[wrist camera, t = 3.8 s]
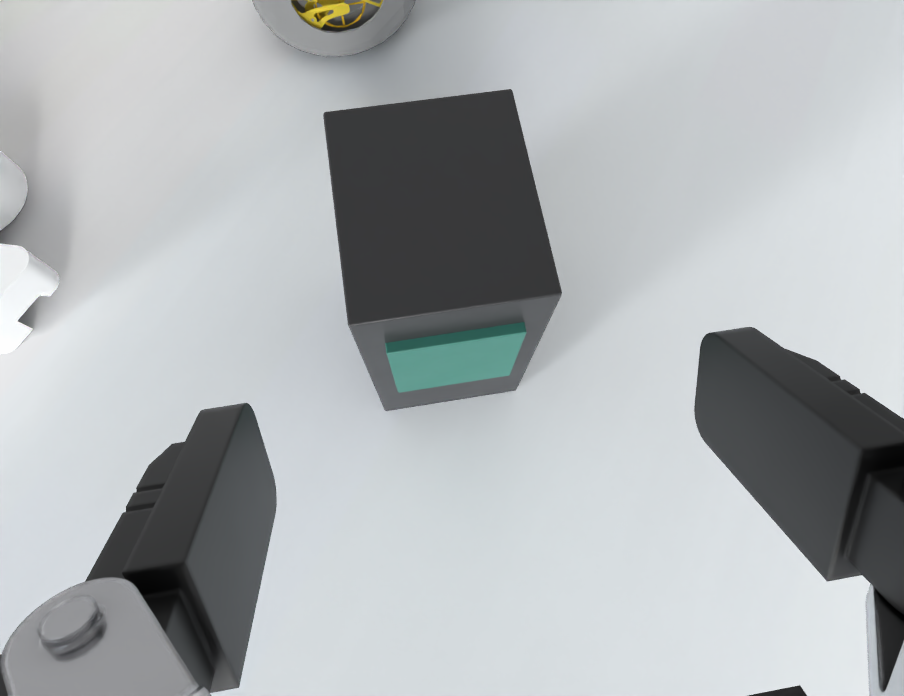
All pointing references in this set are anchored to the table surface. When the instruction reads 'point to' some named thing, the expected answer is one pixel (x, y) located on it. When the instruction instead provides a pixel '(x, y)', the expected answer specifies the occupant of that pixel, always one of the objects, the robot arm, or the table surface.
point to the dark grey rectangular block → (440, 245)
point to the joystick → (18, 263)
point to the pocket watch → (333, 23)
